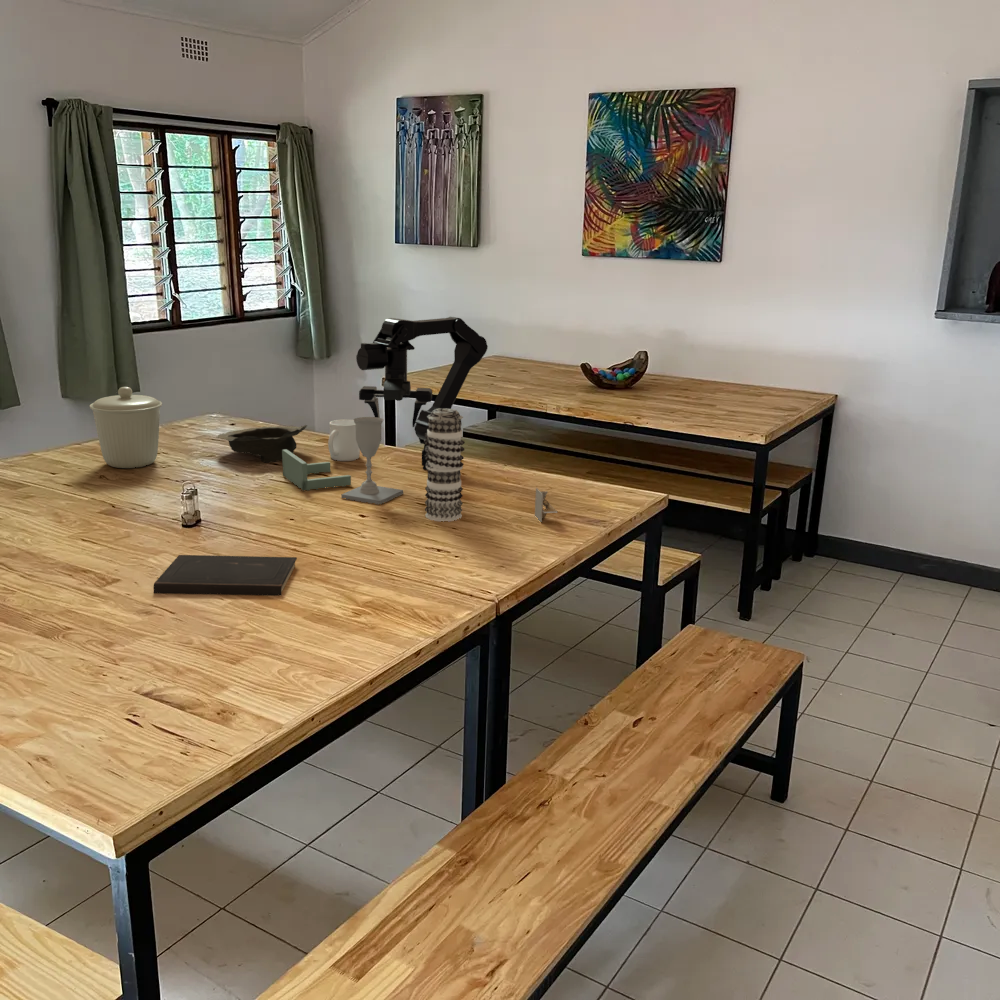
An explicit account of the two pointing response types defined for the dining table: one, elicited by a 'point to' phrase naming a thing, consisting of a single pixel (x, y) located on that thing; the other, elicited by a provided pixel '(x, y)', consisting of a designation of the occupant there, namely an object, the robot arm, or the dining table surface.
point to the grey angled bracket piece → (539, 505)
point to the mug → (343, 440)
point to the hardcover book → (226, 575)
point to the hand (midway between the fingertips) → (396, 426)
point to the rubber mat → (373, 495)
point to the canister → (127, 428)
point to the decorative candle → (444, 465)
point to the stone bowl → (263, 441)
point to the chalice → (368, 447)
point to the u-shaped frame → (299, 469)
